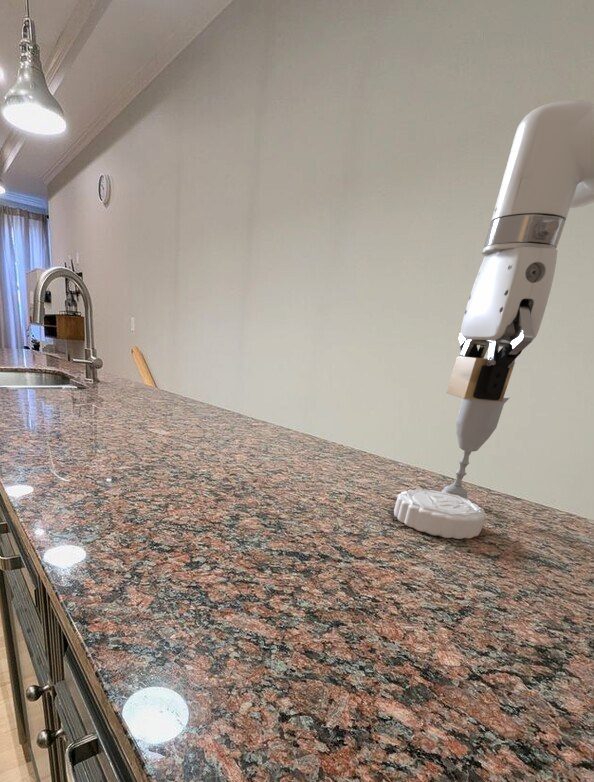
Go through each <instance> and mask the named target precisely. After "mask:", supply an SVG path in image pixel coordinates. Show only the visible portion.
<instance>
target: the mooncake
mask: <svg viewBox="0 0 594 782" xmlns="http://www.w3.org/2000/svg"><path fill="white" fill-rule="evenodd" d="M393 512H394V513H393V516H394V517H395V518H397V520H398V521H399V522H400V523H403V524H404V526H406V527H409V528H412V529H414V530H416V531H418V532H421V533H426V534H428V535H431V536H435V537H436V536H437V537H441V538H444V539H455V540H462V539H469V540H470V539H472V538H474V537H476V538H477V537H478V536H479V535H480V533H481V532H482V529H483V526H484V523H485V520H486V517H487V513H486V512H485V509H484V508H482V507H480V506H479V504H477V503H474V502H472V501H471V500H470V499H468V498H467V499H465V498H462V497H460V496H458V495H453V494H447V493H443V492H441V491H439V490H435V489H425V488H418V489H409V490H402V491H401V492H400V493H398V495H397V497H396V501H395V505H394V509H393Z"/></svg>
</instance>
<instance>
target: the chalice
mask: <svg viewBox="0 0 594 782" xmlns="http://www.w3.org/2000/svg"><path fill="white" fill-rule="evenodd" d="M510 398H511V397H510V396H508V395H504V398H503V401H502V402H496V401H485V400H474V399H464V398H461V403H460V407H459V411H458V414H457V417H456V420H455V428H456V430H455V431H456V438H457V442H458V448H460V450H462V451H463V455H462V457H461V459H460V460H459V461H458V463H459V468H458V469H457V470H456V471H455V472H454V473H455V474H456V475H455V477H456V479H455V480H454V482H452V483H451V484H447V485H445V486H444V487H443V489H442V490H441V491H440V492H443V493H447V494H453V495H458V496H460V497H462V498H465V499H468V498H469V497H468V491H467V490H468V489H467V488H466V487H464V486H463V484H462V481H463V479H464V477H465V476H467V472H466V468H467V467H468V465H470V462H469V461H470V460H469V459H470V456H471V454H472V453H473V452H477V451H478V450H479V449H481V447H483V445H484V444H485V443H486V442H487V441H488V440H489V438H491V436H492V435H493V434H494V432H495V430H496V429H497V427H498V424H499V421H500V418H501V415H502V411H503V409H504V405H505V403H506V402H508V400H509V399H510Z"/></svg>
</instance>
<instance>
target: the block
mask: <svg viewBox="0 0 594 782" xmlns="http://www.w3.org/2000/svg"><path fill="white" fill-rule="evenodd" d="M515 364H516V362H515V363H514V365H513V367H512V368H510V369H509V372H508V375H507V378H506V382H505V385H504V388H503V391H502V394H501V397H500V399H499V400H487V399H477V398H474V397H473V395H474V391H475V388H476V385H477V381H478V378H479V375H480V371H481V368H482V365H483V366H487V358H485V357H484V358H475V357H464V356H460V355H457V356H456V357H455V361H454V365H453V367H452V368H453V369H452V372H451V375H450V379H449V382H448V387H447V390H446V394H447V395H451V396H453V397H454V396H455V397H457V398H460V399H463V398H464V399H474V400H485V401H496V402H502V401H503V398H504V396H506V392H507V388H508V385H509V383H510V379H511V376H512V373H513V370H514V367H515Z"/></svg>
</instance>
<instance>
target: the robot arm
mask: <svg viewBox="0 0 594 782" xmlns="http://www.w3.org/2000/svg"><path fill="white" fill-rule="evenodd" d="M593 203H594V103H593V102H591V101H588V100H584V99H561V100H556V101H551V102H549V103H545V104H542V105H540V106H538V107H536V108H534V109H532V110H531V111H529V112H528V113H527V114H526V115H525V116H524V117H523V118H522V119H521V121H520V123H519V124H518V126H517V128H516V131H515V134H514V137H513V140H512V145H511V148H510V151H509V155H508V159H507V163H506V166H505V170H504V172H503V177H502V181H501V184H500V188H499V191H498V195H497V198H496V202H495V206H494V208H493V209H494V210H493V212H492V216H491V220H490V223H489V227H488V231H487V234H486V237H485V241H484V245H483V249H482V252H481V255H483V256H484V257H483V259H482V262H481V264H480V266H479V269H478V272H477V274H476V277H475V280H474V282H473V286H472V289H471V291H470V295H469V298H468V301H467V304H466V307H465V311H464V314H463V317H462V321H461V326H460V333H459V335H458V341H459V344H460V345H459V348H460V354H459V356H464V357H475V358H485V356H486V354H487V358H486V359H487V366H483V365H482V368H481V371H480V375H479V378H478V381H477V385H476V388H475V391H474V395H473V397H474V398H477V399H487V400H499V399H500V397H501V394H502V391H503V388H504V385H505V382H506V378H507V375H508V372H509V369H510V368H512V367H513V365H514V366H515V364H516V359H517V358H518V357H519V356H520V355H521V353H522V352H523V351H524V349H526V348H527V347H528V346H529V345H530V344H531V343H532V342H533V341H534V340H535V339H536V337H537V335H538V334H539V330H540V328H541V325H542V321H543V318H544V316H545V311H546V308H547V305H548V301H549V298H550V295H551V294H550V293H551V290H552V286H553V281H554V276H555V272H556V266H557V259H558V250H557V248H558V245H559V242H560V239H561V236H562V234H563V230H564V228H565V224H566V221H567V218H568V215H569V211H570V209H575V208H582V207H584V206H588V205H591V204H593ZM478 346H479V347H478ZM500 347H501V349H500ZM514 363H515V364H514ZM513 368H514V367H513Z"/></svg>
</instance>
